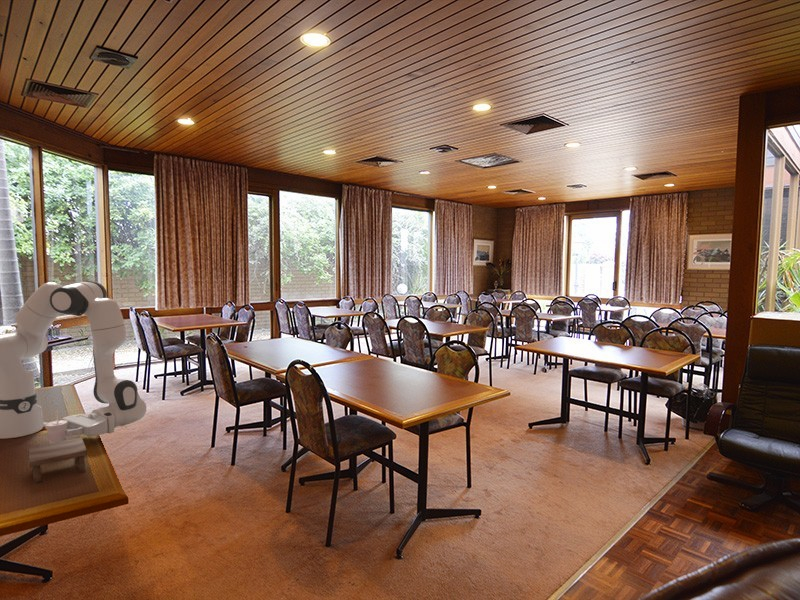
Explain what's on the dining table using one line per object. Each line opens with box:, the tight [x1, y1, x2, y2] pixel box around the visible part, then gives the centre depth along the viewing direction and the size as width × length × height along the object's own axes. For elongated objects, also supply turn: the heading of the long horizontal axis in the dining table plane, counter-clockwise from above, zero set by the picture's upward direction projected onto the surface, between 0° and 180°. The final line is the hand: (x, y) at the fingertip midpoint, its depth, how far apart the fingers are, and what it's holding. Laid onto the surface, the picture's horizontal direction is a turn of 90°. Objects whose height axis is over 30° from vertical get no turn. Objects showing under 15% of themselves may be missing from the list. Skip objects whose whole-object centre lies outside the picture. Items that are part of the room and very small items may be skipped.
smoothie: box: [44, 410, 68, 444], centre depth 164 cm, size 6×6×14 cm
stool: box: [28, 437, 88, 484], centre depth 148 cm, size 14×14×7 cm
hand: (59, 431), depth 165 cm, fingers open, 8 cm apart
